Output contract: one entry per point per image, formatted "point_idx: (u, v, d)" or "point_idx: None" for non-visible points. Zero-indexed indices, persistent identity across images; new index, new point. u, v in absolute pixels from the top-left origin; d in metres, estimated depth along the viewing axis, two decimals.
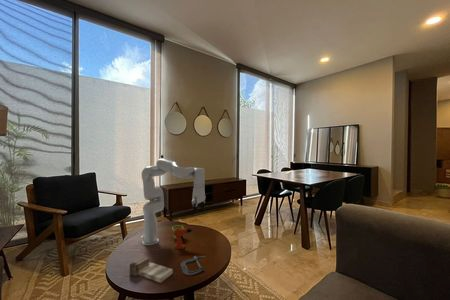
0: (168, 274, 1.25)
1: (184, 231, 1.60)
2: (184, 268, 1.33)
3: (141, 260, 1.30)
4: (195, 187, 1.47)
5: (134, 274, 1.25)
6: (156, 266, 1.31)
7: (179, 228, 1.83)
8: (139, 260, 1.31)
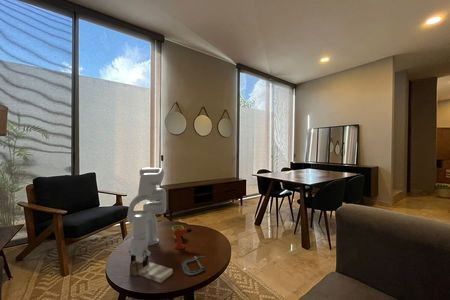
0: (168, 274, 1.25)
1: (184, 231, 1.60)
2: (185, 268, 1.33)
3: (141, 260, 1.30)
4: (142, 237, 1.28)
5: (134, 274, 1.25)
6: (156, 266, 1.31)
7: (179, 228, 1.83)
8: (139, 260, 1.31)
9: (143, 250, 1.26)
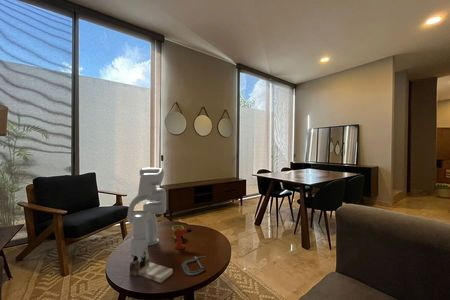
0: (168, 274, 1.25)
1: (184, 231, 1.60)
2: (185, 268, 1.33)
3: None
4: (142, 238, 1.28)
5: (134, 274, 1.25)
6: (156, 266, 1.31)
7: (179, 228, 1.83)
8: (139, 260, 1.31)
9: (143, 250, 1.26)
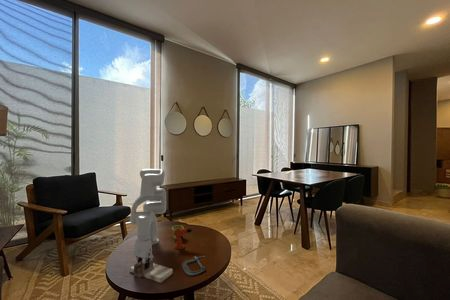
0: (168, 274, 1.25)
1: (184, 231, 1.60)
2: (186, 268, 1.33)
3: None
4: (147, 239, 1.26)
5: (138, 276, 1.24)
6: (156, 266, 1.31)
7: (179, 228, 1.83)
8: (143, 261, 1.29)
9: (147, 251, 1.25)
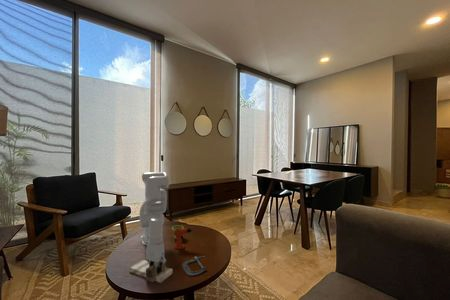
0: (168, 274, 1.25)
1: (184, 231, 1.60)
2: (186, 269, 1.33)
3: (157, 265, 1.25)
4: (159, 242, 1.22)
5: (151, 280, 1.20)
6: None
7: (179, 228, 1.83)
8: (155, 265, 1.25)
9: (160, 255, 1.21)
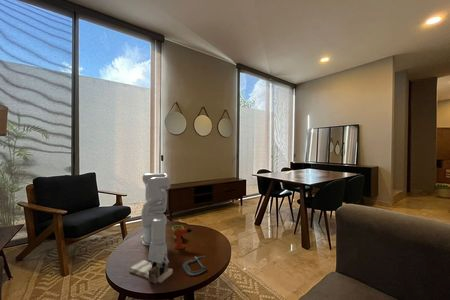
0: (168, 274, 1.25)
1: (184, 231, 1.60)
2: (186, 269, 1.32)
3: (160, 266, 1.24)
4: (162, 243, 1.21)
5: (154, 281, 1.19)
6: None
7: (179, 228, 1.83)
8: (158, 266, 1.24)
9: (163, 256, 1.20)
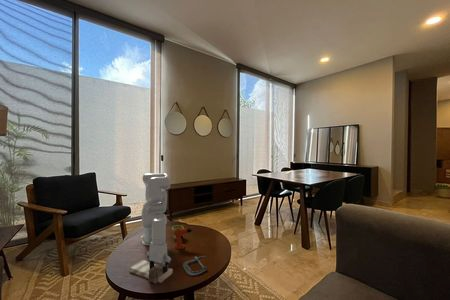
0: (168, 274, 1.25)
1: (184, 231, 1.60)
2: (187, 269, 1.32)
3: (160, 266, 1.24)
4: (162, 243, 1.21)
5: (154, 281, 1.19)
6: None
7: (179, 228, 1.83)
8: (158, 266, 1.24)
9: (163, 256, 1.20)
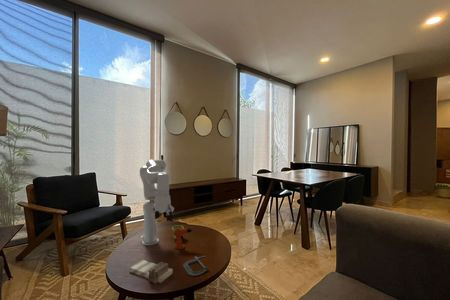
0: (168, 274, 1.25)
1: (184, 231, 1.60)
2: (188, 269, 1.32)
3: (160, 266, 1.24)
4: (166, 194, 1.37)
5: (154, 281, 1.19)
6: None
7: (179, 228, 1.83)
8: (158, 266, 1.24)
9: (167, 205, 1.36)
